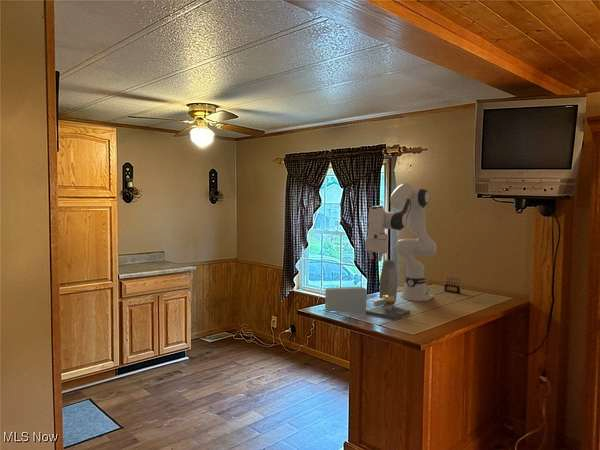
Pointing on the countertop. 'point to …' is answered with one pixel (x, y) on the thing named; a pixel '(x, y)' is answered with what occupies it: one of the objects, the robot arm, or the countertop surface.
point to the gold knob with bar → (385, 300)
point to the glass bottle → (388, 279)
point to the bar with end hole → (345, 299)
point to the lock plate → (388, 312)
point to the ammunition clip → (452, 284)
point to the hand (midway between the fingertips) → (375, 260)
